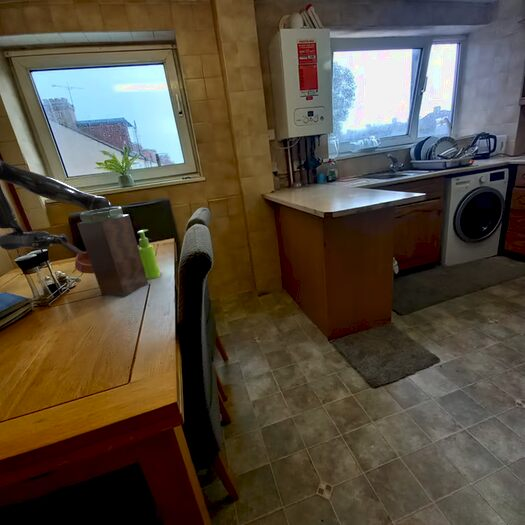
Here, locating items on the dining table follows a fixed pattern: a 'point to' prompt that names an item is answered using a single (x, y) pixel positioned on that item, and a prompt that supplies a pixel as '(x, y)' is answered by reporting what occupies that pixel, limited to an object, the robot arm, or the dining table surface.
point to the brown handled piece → (79, 258)
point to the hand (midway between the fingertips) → (64, 240)
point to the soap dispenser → (148, 257)
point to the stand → (112, 251)
